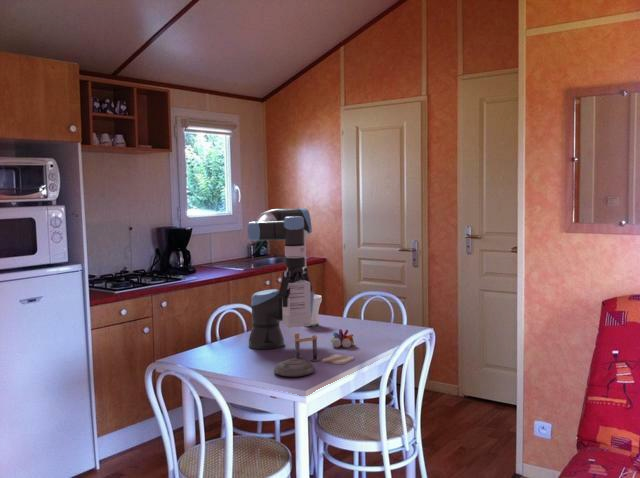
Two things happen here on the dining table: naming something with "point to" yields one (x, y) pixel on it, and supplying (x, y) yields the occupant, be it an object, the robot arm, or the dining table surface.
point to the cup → (316, 310)
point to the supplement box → (299, 305)
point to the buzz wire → (297, 340)
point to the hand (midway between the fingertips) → (296, 312)
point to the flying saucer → (294, 367)
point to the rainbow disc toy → (342, 339)
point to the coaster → (338, 359)
